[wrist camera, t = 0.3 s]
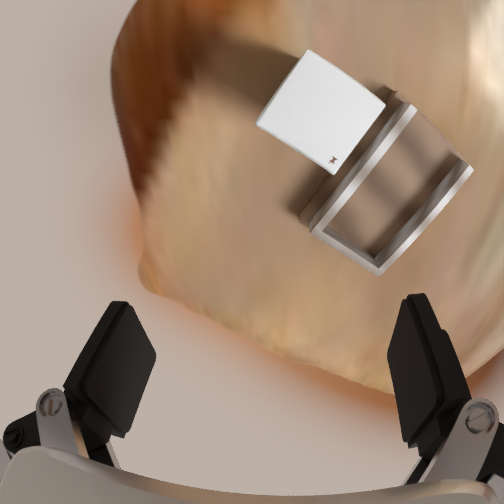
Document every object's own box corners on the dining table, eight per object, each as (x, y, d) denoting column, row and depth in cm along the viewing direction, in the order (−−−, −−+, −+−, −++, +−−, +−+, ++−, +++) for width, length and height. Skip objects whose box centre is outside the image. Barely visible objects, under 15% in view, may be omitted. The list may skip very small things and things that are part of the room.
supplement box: (355, 94, 29) (390, 107, 18) (318, 143, 33) (333, 179, 22) (300, 56, 27) (308, 45, 17) (264, 108, 31) (252, 126, 21)
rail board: (392, 90, 28) (405, 93, 24) (465, 162, 30) (480, 173, 27) (298, 215, 38) (299, 231, 35) (376, 265, 41) (382, 283, 38)
